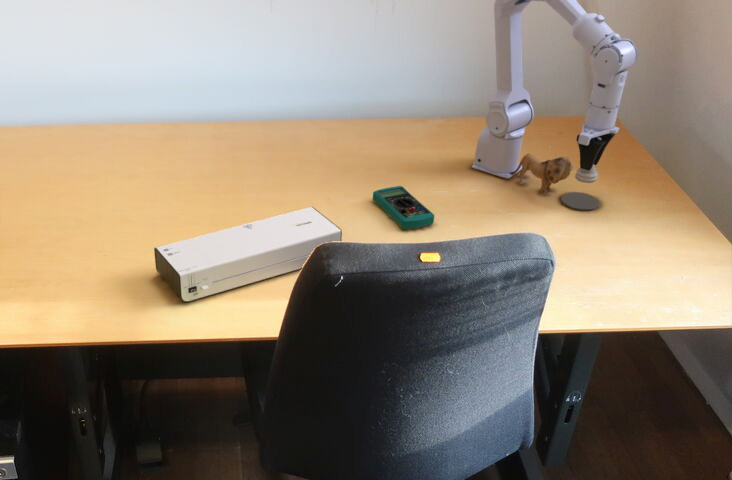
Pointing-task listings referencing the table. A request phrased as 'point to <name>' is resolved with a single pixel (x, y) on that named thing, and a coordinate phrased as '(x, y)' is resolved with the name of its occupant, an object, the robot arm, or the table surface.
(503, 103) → the robot arm
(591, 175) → the chess piece
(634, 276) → the table surface
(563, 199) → the coaster
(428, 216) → the digital multimeter
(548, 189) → the lion figurine
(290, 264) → the laminator
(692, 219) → the table surface
